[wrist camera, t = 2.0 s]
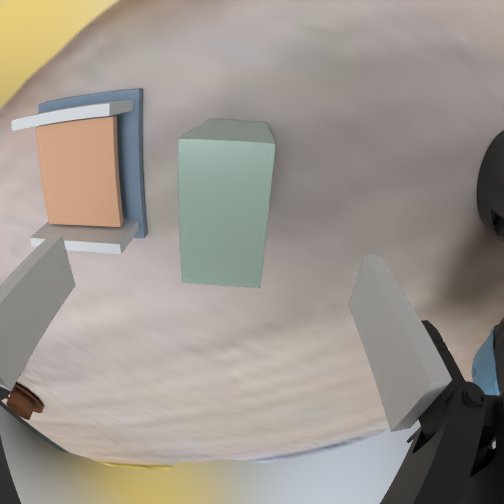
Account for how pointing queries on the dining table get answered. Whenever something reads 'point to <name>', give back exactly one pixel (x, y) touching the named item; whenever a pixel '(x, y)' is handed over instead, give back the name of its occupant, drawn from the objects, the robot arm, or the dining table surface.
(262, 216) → the block
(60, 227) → the rail cradle
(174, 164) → the dining table surface
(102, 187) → the snap seat
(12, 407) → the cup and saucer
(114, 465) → the dining table surface
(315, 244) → the dining table surface
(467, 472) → the robot arm
